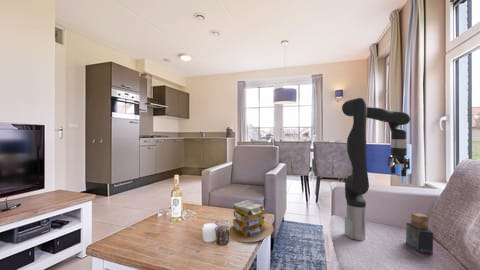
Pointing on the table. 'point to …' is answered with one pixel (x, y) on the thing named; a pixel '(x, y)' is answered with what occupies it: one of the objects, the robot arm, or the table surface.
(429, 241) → the small box
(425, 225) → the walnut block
